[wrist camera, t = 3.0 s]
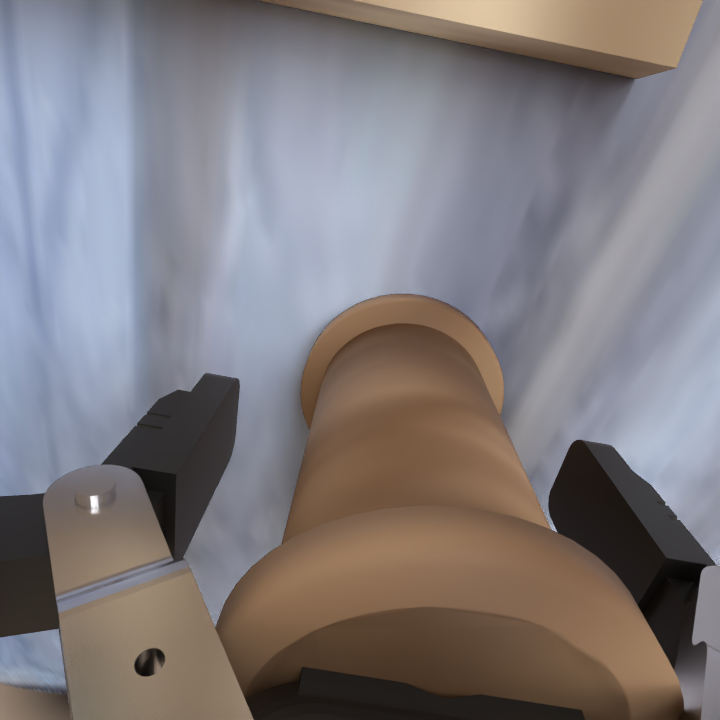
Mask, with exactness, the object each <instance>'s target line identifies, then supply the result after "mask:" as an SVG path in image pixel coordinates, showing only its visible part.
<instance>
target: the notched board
mask: <svg viewBox="0 0 720 720" xmlns="http://www.w3.org/2000/svg"><path fill="white" fill-rule="evenodd" d="M259 1H264V2H269V3H274V4H278V5H283V6H288V7H293V8H298V9H303V10H307V11H312V12H317V13H322V14H327V15H331V16H336V17H341V18H346V19H351V20H356V21H360V22H365V23H370V24H375V25H380V26H385V27H389V28H394V29H399V30H404V31H409V32H413V33H418V34H423V35H428V36H433V37H438V38H442V39H447V40H452V41H457V42H462V43H467V44H471V45H476V46H481V47H486V48H491V49H495V50H500V51H505V52H510V53H515V54H520V55H524V56H529V57H534V58H539V59H544V60H549V61H553V62H558V63H563V64H568V65H573V66H577V67H582V68H587V69H592V70H597V71H602V72H606V73H611V74H616V75H621V76H626V77H631V78H635V79H638V78H642V77H646V76H649V75H653V74H656V73H660V72H663V71H667V70H671V69H674V68H677V65H678V63H679V60H680V58H681V55H682V53H683V50H684V47H685V45H686V42H687V40H688V37H689V35H690V32H691V30H692V27H693V25H694V22H695V20H696V17H697V14H698V12H699V9H700V7H701V4H702V2H703V0H259Z"/></svg>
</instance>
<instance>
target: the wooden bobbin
mask: <svg viewBox="0 0 720 720" xmlns="http://www.w3.org/2000/svg"><path fill="white" fill-rule="evenodd" d="M503 399H504V381H503V376H502V370H501V368H500V365H499V362H498V359H497V357H496V355H495V353H494V351H493V349H492V348H491V346H490V344H489V342H488V341H487V339H486V337H485V336H484V334H483V333H482V331H481V330H480V329H479V327H478V326H477V325H476V324H475V323H474V322H473V321H472V320H471V319H470V318H469V317H467V316H466V315H465V314H463V313H462V312H461V311H460V310H458V309H456V308H454V307H453V306H451V305H449V304H447V303H445V302H442V301H439V300H437V299H434V298H430V297H426V296H422V295H414V294H391V295H384V296H379V297H375V298H371V299H368V300H365V301H363V302H361V303H358V304H356V305H354V306H352V307H351V308H349V309H347V310H345V311H344V312H342V313H341V314H340V315H338V316H337V317H336V318H335V319H333V320H332V321H331V322H330V323H329V324H328V325H327V326H326V327H325V329H324V330H323V331H322V333H321V334H320V335H319V337H318V338H317V340H316V342H315V344H314V345H313V347H312V350H311V352H310V355H309V358H308V360H307V363H306V366H305V369H304V373H303V377H302V382H301V404H302V409H303V414H304V417H305V420H306V423H307V425H308V428H309V429H310V432H309V436H308V440H307V444H306V448H305V452H304V456H303V460H302V464H301V468H300V472H299V476H298V480H297V484H296V488H295V492H294V496H293V500H292V504H291V508H290V512H289V516H288V520H287V524H286V528H285V532H284V536H283V540H282V544H281V545H280V546H278V547H277V548H275V549H273V550H272V551H271V552H269V553H268V554H267V555H266V556H264V557H263V558H262V559H261V560H260V561H258V562H257V563H256V564H255V565H253V566H252V567H251V568H250V569H249V571H248V572H247V573H246V574H245V575H244V576H243V577H242V578H241V579H240V581H239V582H238V583H237V584H236V585H235V587H234V589H233V590H232V592H231V593H230V595H229V597H228V598H227V600H226V601H225V604H224V606H223V609H222V611H221V614H220V616H219V619H218V622H217V625H216V628H215V629H216V631H217V633H218V636H219V638H220V641H221V643H222V645H223V648H224V650H225V653H226V655H227V657H228V660H229V662H230V664H231V667H232V669H233V672H234V674H235V676H236V679H237V681H238V684H239V686H240V688H241V691H242V693H243V695H244V698H247V697H249V696H251V695H253V694H256V693H258V692H260V691H263V690H265V689H268V688H272V687H275V686H279V685H282V684H288V683H294V682H299V681H300V676H301V672H302V667H308V668H314V669H321V670H327V671H334V672H340V673H347V674H353V675H359V676H366V677H372V678H379V679H385V680H392V681H398V682H405V683H408V684H410V685H412V686H415V687H417V688H419V689H422V690H424V691H426V692H429V693H431V694H433V695H436V696H438V697H441V698H446V699H452V698H459V697H466V696H472V695H479V694H482V695H488V696H495V697H501V698H508V699H514V700H521V701H527V702H534V703H540V704H547V705H553V706H559V707H566V708H572V709H579V710H582V712H583V715H584V718H585V720H678V718H679V717H680V716H681V714H682V713H683V712H684V699H683V695H682V691H681V687H680V683H679V679H678V678H677V676H676V674H675V672H674V670H673V668H672V666H671V664H670V662H669V660H668V658H667V656H666V655H665V653H664V651H663V649H662V648H661V646H660V644H659V642H658V641H657V639H656V637H655V635H654V634H653V632H652V630H651V628H650V626H649V625H648V623H647V621H646V619H645V618H644V616H643V614H642V612H641V611H640V609H639V607H638V605H637V604H636V602H635V600H634V598H633V596H632V595H631V593H630V591H629V590H628V589H627V587H626V586H625V585H624V584H623V582H622V581H621V580H620V578H619V577H618V576H617V575H616V573H615V572H614V571H612V570H611V569H610V568H609V567H608V566H607V565H606V564H605V563H604V562H603V561H601V560H600V559H599V558H598V557H597V556H596V555H594V554H593V553H591V552H590V551H588V550H587V549H585V548H584V547H582V546H581V545H579V544H578V543H576V542H575V541H573V540H571V539H569V538H567V537H565V536H563V535H561V534H559V533H557V532H555V531H553V530H551V528H550V526H549V524H548V521H547V519H546V517H545V515H544V512H543V510H542V508H541V506H540V504H539V501H538V499H537V497H536V495H535V493H534V490H533V488H532V486H531V484H530V481H529V479H528V477H527V475H526V473H525V470H524V468H523V466H522V464H521V462H520V459H519V457H518V455H517V453H516V451H515V448H514V446H513V444H512V442H511V439H510V437H509V435H508V433H507V431H506V428H505V426H504V424H503V422H502V420H501V417H500V414H501V410H502V406H503Z"/></svg>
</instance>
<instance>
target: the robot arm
mask: <svg viewBox="0 0 720 720" xmlns="http://www.w3.org/2000/svg"><path fill="white" fill-rule="evenodd" d="M239 388H240V384H239V379H237V378H231V377H226V376H220V375H214V374H209V373H206V374H204V375H203V377H202V378H201V379H200V380H199V382H198V383H197V384H196V386H195V387H194V388H193V389H192V391H191V392H188V391H182V390H177V391H175V392H173V393H171V394H169V395H167V396H165V397H163V398H161V399H159V400H158V401H157V402H156V403H155V404H154V405H153V407H152V408H151V409H150V410H149V411H148V412H147V415H145V416H144V417H143V418H142V419H141V420H140V421H139V422H138V424H137V426H135V427H134V428H133V429H132V430H131V431H130V432H129V434H128V435H127V436H126V437H125V438H124V439H123V440H122V441H121V443H120V444H119V445H118V446H117V447H116V448H115V449H114V451H113V452H112V453H111V454H110V455H109V456H108V457H107V458H106V460H105V461H104V462H103V463H102V464H101V465H94V466H88V467H84V468H80V469H77V470H75V471H72V472H70V473H68V474H66V475H64V476H62V477H61V478H59V479H58V480H56V481H55V482H54V483H53V484H52V485H51V486H50V487H49V488H48V489H47V491H46V493H43V494H34V495H18V496H2V497H0V637H6V636H12V635H19V634H26V633H32V632H39V631H46V630H53V629H59V635H60V642H61V650H62V657H63V664H64V672H65V679H66V686H67V694H68V700H69V708H70V716H71V720H585V718H584V715H583V712H582V710H579V709H572V708H566V707H559V706H553V705H547V704H540V703H534V702H527V701H521V700H514V699H508V698H501V697H495V696H488V695H482V694H479V695H472V696H466V697H459V698H452V699H446V698H441V697H438V696H436V695H433V694H431V693H429V692H426V691H424V690H422V689H419V688H417V687H415V686H412V685H410V684H408V683H405V682H398V681H392V680H385V679H379V678H372V677H366V676H359V675H353V674H347V673H340V672H334V671H327V670H321V669H314V668H308V667H302V672H301V676H300V681H299V682H294V683H288V684H282V685H279V686H275V687H272V688H268V689H265V690H263V691H260V692H258V693H256V694H253V695H251V696H249V697H247V698H244V695H243V693H242V691H241V688H240V686H239V684H238V681H237V679H236V676H235V674H234V672H233V669H232V667H231V664H230V662H229V660H228V657H227V655H226V653H225V650H224V648H223V645H222V643H221V641H220V638H219V636H218V633H217V631H216V629H215V626H214V624H213V621H212V619H211V617H210V614H209V612H208V610H207V607H206V605H205V602H204V600H203V598H202V595H201V593H200V590H199V588H198V586H197V583H196V581H195V578H194V576H193V574H192V571H191V569H190V567H189V565H188V563H187V562H186V561H185V559H183V556H184V554H185V552H186V550H187V548H188V546H189V544H190V542H191V539H192V537H193V535H194V533H195V531H196V529H197V527H198V525H199V523H200V521H201V519H202V517H203V515H204V512H205V510H206V508H207V506H208V504H209V502H210V500H211V498H212V496H213V494H214V492H215V490H216V488H217V486H218V483H219V481H220V479H221V477H222V475H223V473H224V471H225V469H226V467H227V465H228V463H229V460H230V458H231V455H232V451H233V447H234V442H235V436H236V424H237V412H238V400H239ZM549 513H550V517H551V519H552V521H553V523H554V526H555V528H556V530H557V532H558V533H559V534H561V535H563V536H565V537H567V538H569V539H571V540H573V541H575V542H576V543H578V544H579V545H581V546H582V547H584V548H585V549H587V550H588V551H590V552H591V553H593V554H594V555H596V556H597V557H598V558H599V559H600V560H601V561H603V562H604V563H605V564H606V565H607V566H608V567H609V568H610V569H611V570H612V571H614V572H615V573H616V575H617V576H618V577H619V578H620V580H621V581H622V582H623V584H624V585H625V586H626V587H627V589H628V590H629V591H630V593H631V595H632V596H633V598H634V600H635V602H636V604H637V605H638V607H639V609H640V611H641V612H642V614H643V616H644V618H645V619H646V621H647V623H648V625H649V626H650V628H651V630H652V632H653V634H654V635H655V637H656V639H657V641H658V642H659V644H660V646H661V648H662V649H663V651H664V653H665V655H666V656H667V658H668V660H669V662H670V664H671V666H672V668H673V670H674V672H675V674H676V676H677V678H678V679H679V683H680V687H681V691H682V695H683V699H684V712H683V713H682V714H681V716H680V717H679V718H678V720H720V566H717V565H716V564H715V563H714V561H713V560H712V559H711V558H710V557H709V555H708V554H707V553H706V552H705V550H704V549H703V548H702V547H701V546H700V544H699V543H698V542H697V541H696V539H695V538H694V537H693V536H692V535H691V533H690V532H689V531H688V530H687V528H686V527H685V526H684V525H683V524H682V522H681V521H680V520H677V516H676V515H675V514H674V513H673V511H672V510H671V509H670V508H669V506H665V502H664V500H663V499H662V498H661V497H660V495H659V494H658V493H657V492H656V491H655V489H654V488H653V487H652V486H651V485H650V484H649V483H647V482H646V481H645V480H644V479H642V478H641V477H640V476H638V475H637V474H636V473H635V472H633V471H632V470H631V469H630V467H629V466H628V465H627V464H626V462H625V461H624V460H623V458H622V457H621V456H620V455H619V453H618V452H617V451H616V450H615V449H614V448H613V447H612V446H611V445H606V444H601V443H595V442H589V441H584V440H576V441H574V442H573V443H572V445H571V446H570V448H569V450H568V452H567V455H566V457H565V459H564V461H563V464H562V466H561V468H560V470H559V473H558V475H557V477H556V480H555V482H554V484H553V486H552V489H551V491H550V495H549Z"/></svg>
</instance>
